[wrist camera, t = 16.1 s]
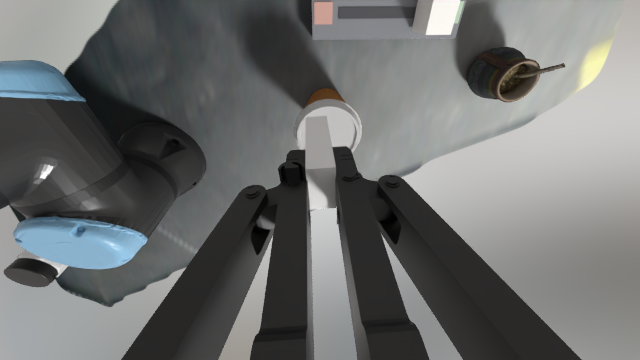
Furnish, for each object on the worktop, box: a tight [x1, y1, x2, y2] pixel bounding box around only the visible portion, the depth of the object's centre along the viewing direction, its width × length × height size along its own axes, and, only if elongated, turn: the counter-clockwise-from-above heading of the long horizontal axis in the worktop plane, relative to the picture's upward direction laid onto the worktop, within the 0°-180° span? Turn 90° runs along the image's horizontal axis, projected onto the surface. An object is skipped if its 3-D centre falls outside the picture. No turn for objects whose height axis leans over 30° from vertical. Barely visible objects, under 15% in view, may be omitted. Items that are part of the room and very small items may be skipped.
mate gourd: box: [467, 47, 565, 102], centre depth 34 cm, size 7×8×10 cm
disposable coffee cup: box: [294, 88, 362, 152], centre depth 36 cm, size 10×10×12 cm
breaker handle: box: [412, 0, 460, 35], centre depth 28 cm, size 3×4×5 cm
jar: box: [4, 250, 68, 287], centre depth 57 cm, size 9×8×12 cm
